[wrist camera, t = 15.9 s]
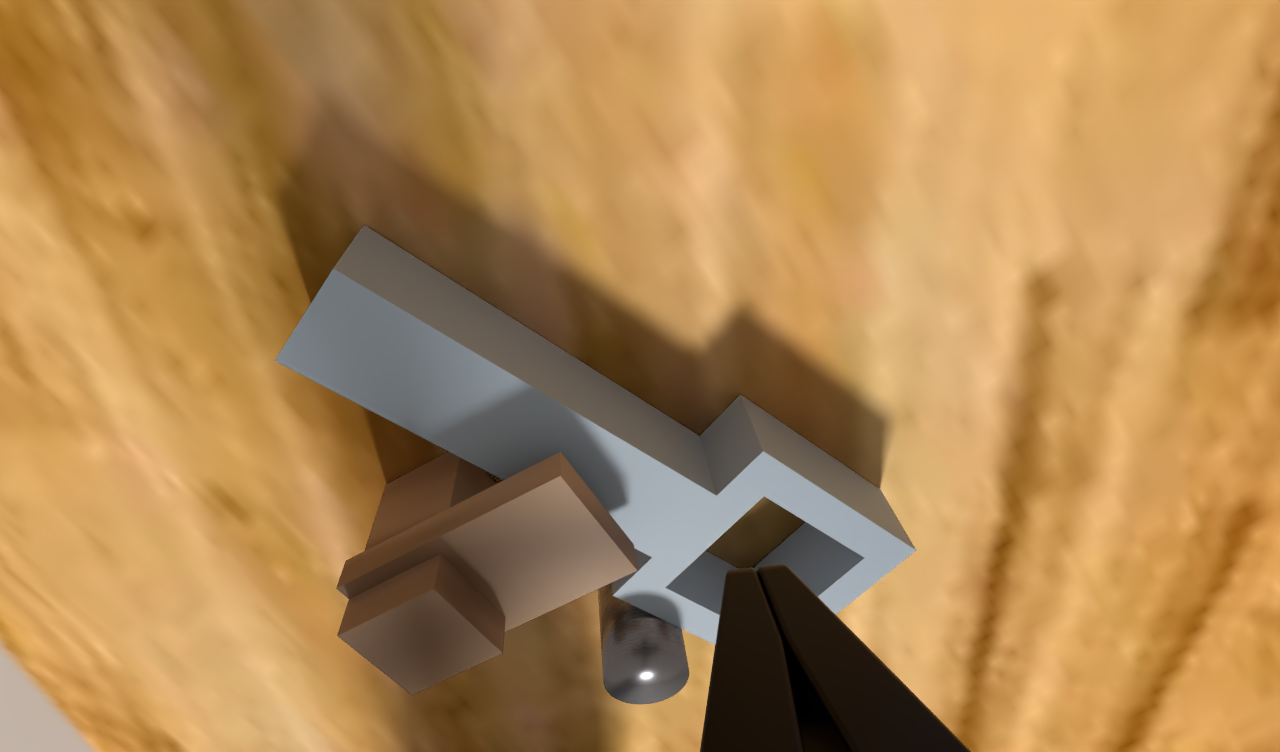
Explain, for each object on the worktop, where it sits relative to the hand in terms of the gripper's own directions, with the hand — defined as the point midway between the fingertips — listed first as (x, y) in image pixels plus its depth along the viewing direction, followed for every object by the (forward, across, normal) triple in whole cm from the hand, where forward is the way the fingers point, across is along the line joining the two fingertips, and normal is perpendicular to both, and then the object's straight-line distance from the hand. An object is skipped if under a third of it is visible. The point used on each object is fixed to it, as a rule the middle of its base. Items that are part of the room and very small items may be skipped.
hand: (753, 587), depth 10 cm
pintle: (+12, +2, +13) cm, 17 cm away
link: (+12, +2, +6) cm, 13 cm away
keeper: (+12, +5, +7) cm, 15 cm away
